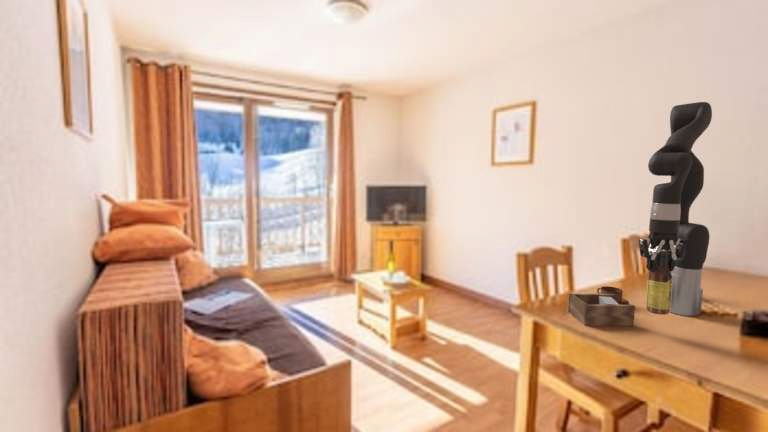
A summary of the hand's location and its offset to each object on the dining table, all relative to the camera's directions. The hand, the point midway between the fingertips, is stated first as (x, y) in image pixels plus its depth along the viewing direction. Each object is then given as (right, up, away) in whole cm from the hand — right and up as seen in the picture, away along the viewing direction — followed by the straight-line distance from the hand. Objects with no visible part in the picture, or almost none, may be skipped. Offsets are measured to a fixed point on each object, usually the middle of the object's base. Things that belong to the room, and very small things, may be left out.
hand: (659, 270), depth 121 cm
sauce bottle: (0, -14, +2) cm, 14 cm away
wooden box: (-11, -19, +14) cm, 26 cm away
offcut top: (-8, -16, +14) cm, 23 cm away
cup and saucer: (+2, -18, +29) cm, 34 cm away
